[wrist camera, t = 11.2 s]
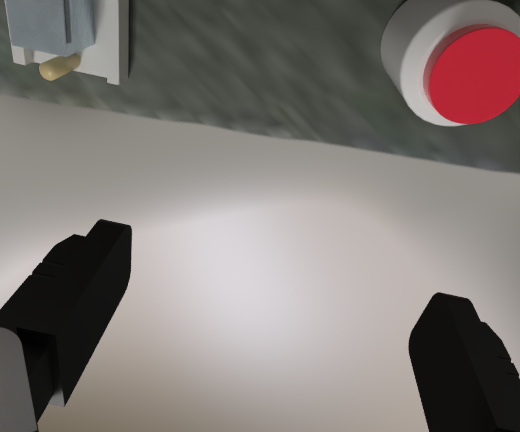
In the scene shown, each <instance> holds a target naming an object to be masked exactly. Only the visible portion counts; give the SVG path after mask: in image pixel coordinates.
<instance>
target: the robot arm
mask: <svg viewBox="0 0 520 432" xmlns="http://www.w3.org/2000/svg"><path fill="white" fill-rule="evenodd" d="M131 242H132V229H131V226H130V225H126V224H121V223H117V222H112V221H107V220H103V219H100V220H99V221H97V223H96V224H95V225H94V226H93V228H92V229H91V230H90V232H89V233H88V234H87V236H86V237H85V236H80V235H76V234H74V235H72V236H70V237H69V238H67V239H65V240H63V241H61V242H60V243H58V244H56V245H55V246H54V247H53V248H52V249H51V251H50V252H49V253H48V254H47V255H46V256H45V258H44V259H43V261H42V263H39V265H38V266H37V267H36V268H35V269H34V271H33V272H32V275H29V276H28V278H27V279H26V280H25V281H24V283H22V285H21V286H20V287H19V288H18V289H17V290H16V292H15V293H14V294H13V295H12V296H11V297H10V299H9V300H8V301H7V302H6V303H5V304H4V306H3V307H2V308H1V309H0V432H39V430H38V425H37V423H38V421H39V419H40V417H41V415H42V414H43V412H44V410H45V409H46V407H47V405H48V404H52V405H58V406H62V407H65V405H66V403H67V401H68V399H69V398H70V396H71V394H72V392H73V390H74V388H75V386H76V384H77V382H78V381H79V379H80V377H81V375H82V373H83V371H84V369H85V367H86V365H87V364H88V362H89V359H90V358H91V356H92V354H93V352H94V350H95V348H96V346H97V345H98V343H99V341H100V339H101V337H102V335H103V333H104V331H105V329H106V328H107V325H108V323H109V322H110V320H111V318H112V316H113V314H114V312H115V311H116V308H117V307H118V305H119V303H120V301H121V299H122V297H123V295H124V293H125V291H126V289H127V286H128V282H129V279H130V273H131V245H132V243H131ZM409 355H410V359H411V363H412V366H413V371H414V375H415V379H416V383H417V386H418V390H419V394H420V398H421V402H422V406H423V409H424V413H425V417H426V421H427V425H428V429H429V432H520V379H519V373H518V372H517V370H516V368H515V366H514V364H513V363H511V358H510V356H509V354H508V352H507V350H506V348H505V346H504V344H503V342H502V340H501V339H500V338H499V337H498V336H497V335H496V333H495V332H494V331H493V330H492V329H491V328H490V327H489V326H488V325H487V324H486V323H485V322H481V321H480V319H479V317H478V315H477V312H476V310H475V308H474V306H473V304H472V303H471V301H470V300H469V299H467V298H463V297H458V296H453V295H449V294H444V293H436V294H434V295H433V296H432V298H431V300H430V301H429V303H428V305H427V307H426V308H425V310H424V311H423V313H422V315H421V316H420V318H419V320H418V321H417V323H416V325H415V326H414V328H413V330H412V332H411V334H410V338H409Z"/></svg>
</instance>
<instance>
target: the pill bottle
mask: <svg viewBox="0 0 520 432" xmlns="http://www.w3.org/2000/svg"><path fill="white" fill-rule="evenodd" d="M381 60H382V63H383V67H384V69H385V71H386V73H387V75H388V76H389V78H390V79H391V81H392V82H393V84H394V85H395V87H396V88H397V90H398V91H399V93H400V94H401V96H402V97H403V99H404V100H405V102H406V103H407V105H408V106H409V107H410V108H411V109H412V111H413V112H414V113H415V114H416V115H418V116H419V117H421V118H422V119H423V120H426V121H428V122H430V123H433V124H437V125H442V126H460V125H465V124H474V123H480V122H483V121H486V120H489V119H491V118H493V117H495V116H497V115H499V114H500V113H502V112H503V111H504V110H506V109H507V108H508V107H509V106H510V105H511V104H512V103H513V102H514V101H515V100H516V99H517V98H518V96H519V95H520V16H519V15H518V14H517V13H516V12H514V11H513V10H512V9H511V8H510V7H508V6H506V5H504V4H501V3H499V2H497V1H493V0H407V1H406V2H405V3H403V4H402V5H401V6H400V7H399V8H398V9H397V10H396V12H395V13H394V14H393V16H392V17H391V18H390V20H389V22H388V24H387V26H386V28H385V30H384V33H383V37H382V41H381Z"/></svg>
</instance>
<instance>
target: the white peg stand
mask: <svg viewBox="0 0 520 432" xmlns="http://www.w3.org/2000/svg"><path fill="white" fill-rule="evenodd" d="M5 5H6V0H5ZM6 12H7V6H6ZM7 19H8V13H7ZM8 26H9V21H8ZM94 26H95V44H94V45H92V46H90V47H88V48H85V49H83V50H81V51H79V52H76V53H74V54H72V55H70V56H67V57H63V56H59V55H54V54H49V53H45V52H40V51H36V50H31V49H27V48H22V47H18V46H13V45H12V42H11V47H12V54H13V60H14V63H18V64H22V65H27V64H30V63H32V62H36V63H41V64H40V66H39V71H40V73H41V75H42V76H43V77H44V78H45V79H47V80H50V81H51V80H54V79H56V78H58V77H60V76H62V75H64V74H66V73H68V72H70V71H72V70H73V71H78V72H83V73H87V74H92V75H97V76H101V77H106V78H107V83H111V84H116V85H120V84H121V83H123V82H124V81H125V80H127V79H128V42H129V0H94ZM9 33H10V28H9ZM10 40H11V35H10Z"/></svg>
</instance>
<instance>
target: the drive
mask: <svg viewBox="0 0 520 432" xmlns="http://www.w3.org/2000/svg"><path fill="white" fill-rule="evenodd" d="M6 6H7V13H8V21H9V28H10V35H11V42H12V45H13V46H18V47H22V48H27V49H31V50H36V51H40V52H45V53H49V54H54V55H59V56H63V57H67V56H70V55H72V54H74V53H76V52H79V51H81V50H83V49H85V48H88V47H90V46H92V45H94V44H95V26H94V0H6Z"/></svg>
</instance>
